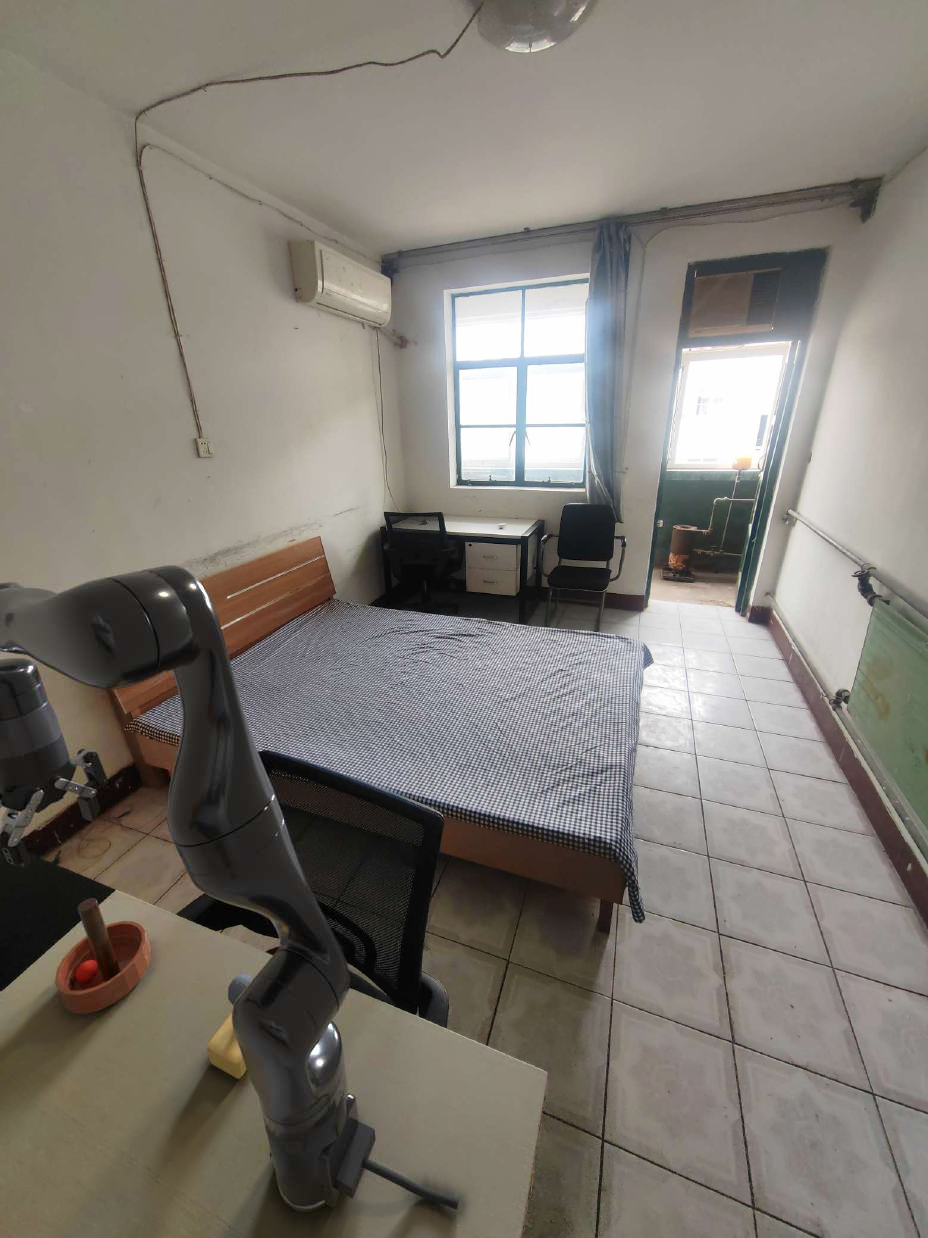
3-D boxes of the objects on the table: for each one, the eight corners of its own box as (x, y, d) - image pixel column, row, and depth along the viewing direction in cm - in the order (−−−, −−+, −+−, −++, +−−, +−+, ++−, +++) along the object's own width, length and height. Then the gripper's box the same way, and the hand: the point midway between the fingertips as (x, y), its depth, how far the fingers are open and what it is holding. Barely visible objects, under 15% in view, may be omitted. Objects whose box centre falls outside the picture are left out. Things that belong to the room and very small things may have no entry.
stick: (124, 970, 79) (100, 899, 74) (110, 984, 77) (85, 913, 72) (113, 966, 80) (88, 896, 74) (99, 980, 77) (73, 909, 72)
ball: (105, 958, 79) (88, 966, 76) (100, 978, 78) (83, 987, 75) (90, 955, 80) (73, 963, 77) (86, 975, 79) (68, 984, 76)
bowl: (168, 954, 82) (162, 933, 81) (98, 1028, 72) (89, 1007, 70) (119, 932, 86) (112, 912, 84) (46, 1000, 75) (36, 978, 74)
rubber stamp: (240, 1081, 66) (226, 1025, 62) (209, 1063, 68) (194, 1008, 64) (288, 1007, 74) (279, 954, 70) (259, 993, 76) (249, 940, 72)
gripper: (-31, 779, 52) (15, 889, 57) (100, 716, 65) (128, 811, 70) (-70, 766, 55) (-22, 872, 60) (64, 708, 67) (93, 800, 73)
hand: (59, 839), depth 65 cm, fingers open, 8 cm apart
